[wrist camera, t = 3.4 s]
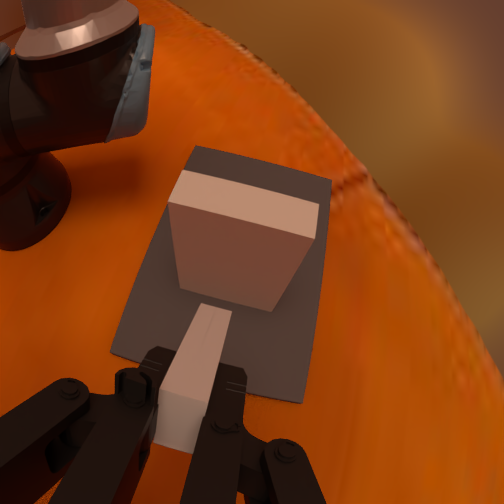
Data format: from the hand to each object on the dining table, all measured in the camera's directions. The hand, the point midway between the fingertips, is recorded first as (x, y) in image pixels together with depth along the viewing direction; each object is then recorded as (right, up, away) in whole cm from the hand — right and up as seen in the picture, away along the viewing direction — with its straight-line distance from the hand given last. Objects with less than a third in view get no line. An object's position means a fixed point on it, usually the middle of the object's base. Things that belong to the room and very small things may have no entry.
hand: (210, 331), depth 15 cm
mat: (0, +3, +23) cm, 23 cm away
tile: (-1, 0, +20) cm, 20 cm away
